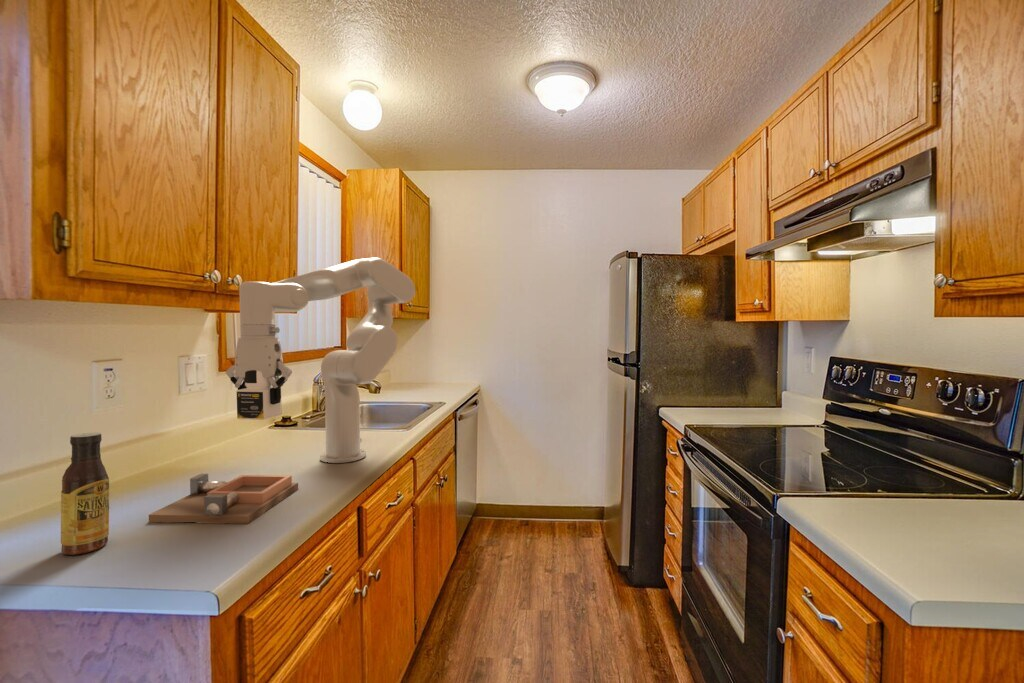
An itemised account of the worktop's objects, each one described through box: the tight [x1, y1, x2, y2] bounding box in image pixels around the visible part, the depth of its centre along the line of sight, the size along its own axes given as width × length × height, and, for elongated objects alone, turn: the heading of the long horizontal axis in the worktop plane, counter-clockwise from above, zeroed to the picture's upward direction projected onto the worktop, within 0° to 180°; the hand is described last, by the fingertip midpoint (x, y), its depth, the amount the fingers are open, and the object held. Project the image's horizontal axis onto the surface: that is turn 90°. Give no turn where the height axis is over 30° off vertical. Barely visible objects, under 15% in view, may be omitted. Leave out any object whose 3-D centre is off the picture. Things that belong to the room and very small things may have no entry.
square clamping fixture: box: [148, 473, 299, 525], centre depth 103 cm, size 20×20×5 cm
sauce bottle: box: [60, 432, 110, 556], centre depth 82 cm, size 6×6×20 cm
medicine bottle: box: [236, 370, 282, 421], centre depth 117 cm, size 7×7×12 cm
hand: (259, 403), depth 117 cm, fingers closed on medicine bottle, 7 cm apart
